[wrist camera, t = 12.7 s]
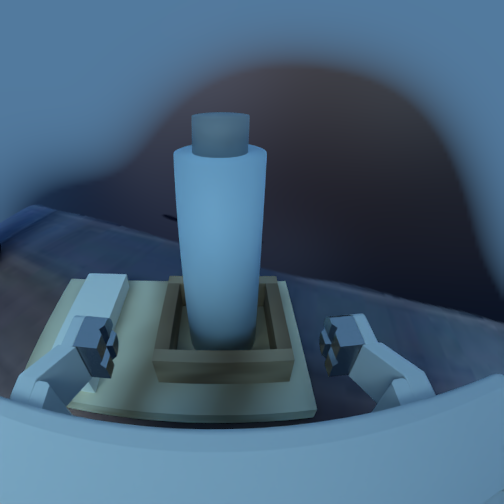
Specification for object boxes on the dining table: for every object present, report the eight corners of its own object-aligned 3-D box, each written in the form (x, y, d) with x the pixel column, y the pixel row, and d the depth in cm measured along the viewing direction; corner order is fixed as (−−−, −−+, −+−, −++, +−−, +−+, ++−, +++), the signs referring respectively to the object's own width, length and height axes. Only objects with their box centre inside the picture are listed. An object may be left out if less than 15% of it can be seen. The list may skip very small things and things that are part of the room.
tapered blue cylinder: (188, 360, 21) (163, 122, 12) (193, 313, 25) (180, 111, 17) (257, 360, 21) (275, 122, 13) (252, 313, 25) (263, 111, 17)
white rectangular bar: (49, 385, 17) (41, 372, 16) (92, 285, 27) (89, 273, 26) (95, 393, 17) (88, 381, 16) (129, 286, 27) (126, 274, 27)
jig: (24, 396, 16) (1, 367, 14) (74, 287, 28) (65, 258, 26) (313, 417, 18) (325, 389, 16) (284, 290, 30) (288, 259, 28)
